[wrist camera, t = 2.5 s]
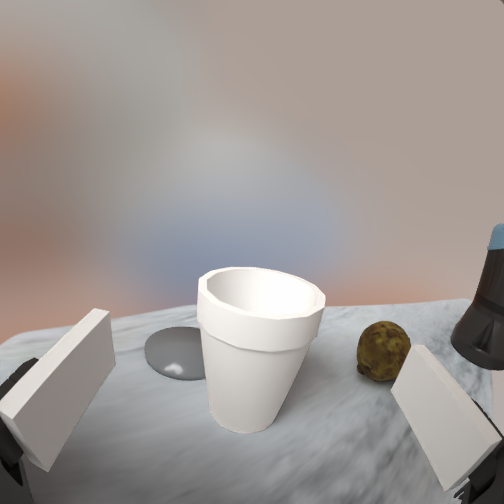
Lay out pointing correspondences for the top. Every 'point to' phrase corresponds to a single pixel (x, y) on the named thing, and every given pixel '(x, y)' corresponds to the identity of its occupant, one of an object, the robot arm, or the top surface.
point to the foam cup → (254, 341)
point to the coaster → (176, 353)
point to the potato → (382, 351)
